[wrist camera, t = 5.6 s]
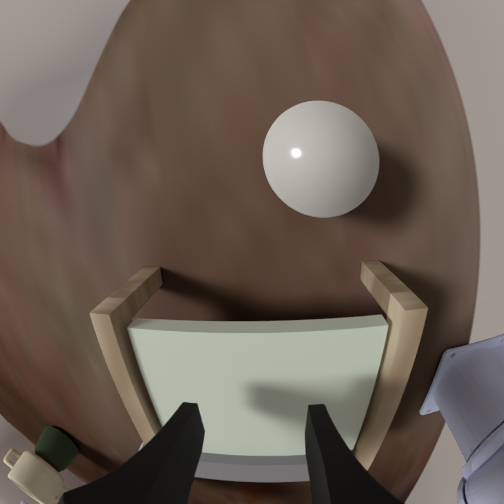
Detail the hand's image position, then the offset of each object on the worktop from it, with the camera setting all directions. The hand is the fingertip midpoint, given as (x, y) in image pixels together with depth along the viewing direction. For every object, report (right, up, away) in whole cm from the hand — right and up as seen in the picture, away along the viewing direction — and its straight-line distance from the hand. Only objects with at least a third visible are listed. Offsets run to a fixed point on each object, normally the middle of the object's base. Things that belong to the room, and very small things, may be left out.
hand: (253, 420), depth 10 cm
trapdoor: (0, -2, +4) cm, 5 cm away
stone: (+3, +12, +5) cm, 13 cm away
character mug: (-28, -21, +17) cm, 39 cm away
